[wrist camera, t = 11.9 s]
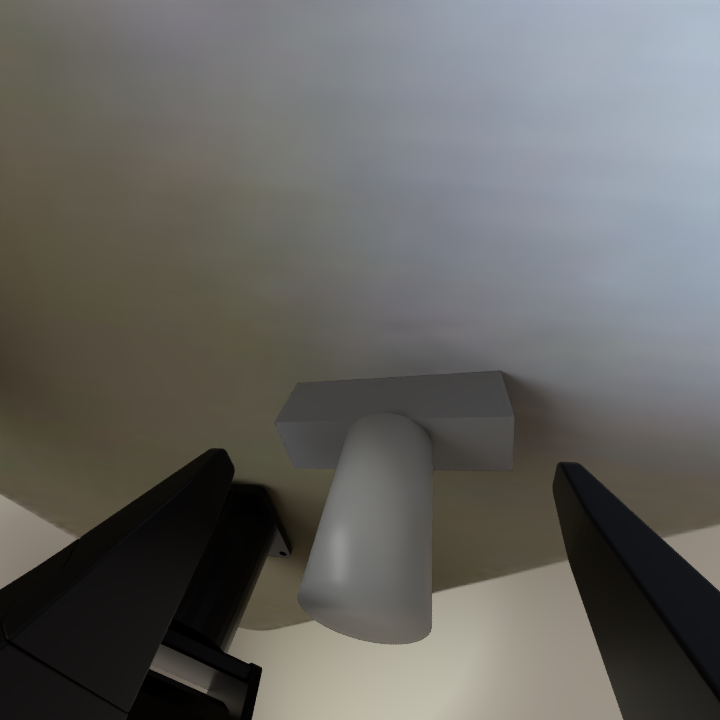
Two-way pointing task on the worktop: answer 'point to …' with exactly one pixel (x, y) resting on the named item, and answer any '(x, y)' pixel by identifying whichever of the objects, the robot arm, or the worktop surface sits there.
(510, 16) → the worktop surface
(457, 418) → the pusher
